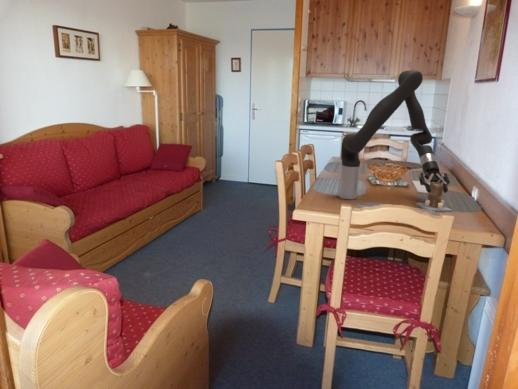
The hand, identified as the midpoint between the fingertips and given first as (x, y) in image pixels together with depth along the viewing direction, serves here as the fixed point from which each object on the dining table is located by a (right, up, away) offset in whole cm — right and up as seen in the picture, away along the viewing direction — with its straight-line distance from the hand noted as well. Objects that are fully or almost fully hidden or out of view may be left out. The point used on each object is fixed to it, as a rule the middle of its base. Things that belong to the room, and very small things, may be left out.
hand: (437, 192), depth 196 cm
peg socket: (0, -8, +4) cm, 9 cm away
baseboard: (+13, +2, +46) cm, 47 cm away
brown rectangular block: (0, -7, +4) cm, 8 cm away
